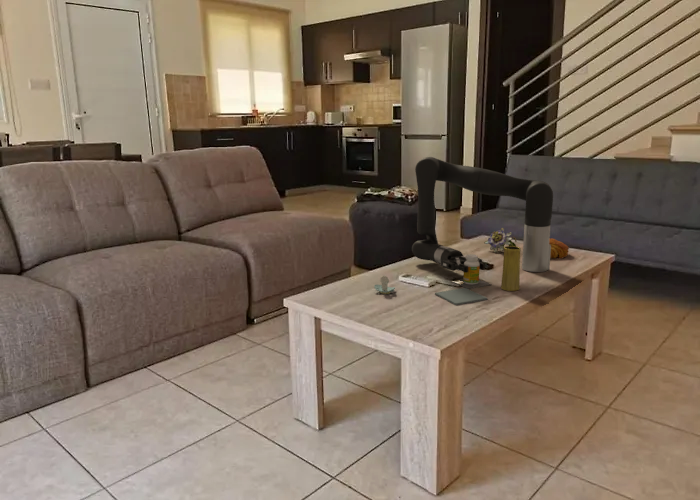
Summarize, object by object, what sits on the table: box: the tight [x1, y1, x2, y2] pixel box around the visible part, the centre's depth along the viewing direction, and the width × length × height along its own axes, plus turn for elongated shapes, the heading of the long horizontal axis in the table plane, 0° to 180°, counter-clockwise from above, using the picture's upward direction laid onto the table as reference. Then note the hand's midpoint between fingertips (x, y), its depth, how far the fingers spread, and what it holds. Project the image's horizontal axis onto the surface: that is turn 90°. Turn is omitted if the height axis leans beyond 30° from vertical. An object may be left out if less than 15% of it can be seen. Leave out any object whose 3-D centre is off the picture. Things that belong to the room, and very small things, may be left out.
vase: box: [500, 245, 521, 292], centre depth 183 cm, size 6×6×14 cm
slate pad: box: [434, 287, 488, 306], centre depth 176 cm, size 12×12×1 cm
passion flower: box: [484, 227, 517, 253], centre depth 236 cm, size 11×11×12 cm
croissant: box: [549, 238, 570, 259], centre depth 227 cm, size 14×16×8 cm
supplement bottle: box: [462, 254, 480, 285], centre depth 190 cm, size 5×5×10 cm
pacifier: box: [374, 275, 397, 295], centre depth 183 cm, size 7×6×6 cm
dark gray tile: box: [459, 278, 492, 290], centre depth 191 cm, size 10×10×1 cm
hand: (475, 268), depth 187 cm, fingers open, 6 cm apart
